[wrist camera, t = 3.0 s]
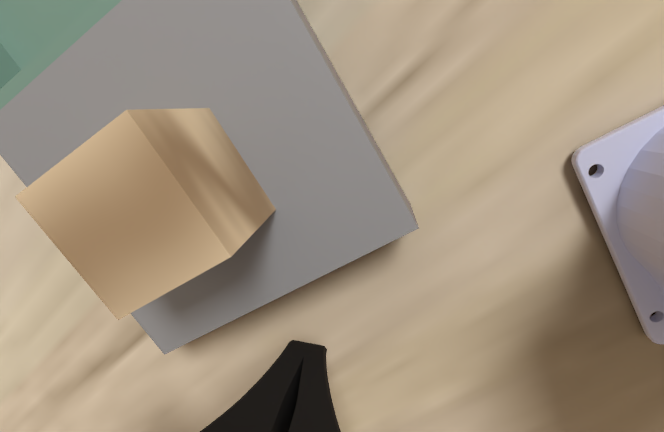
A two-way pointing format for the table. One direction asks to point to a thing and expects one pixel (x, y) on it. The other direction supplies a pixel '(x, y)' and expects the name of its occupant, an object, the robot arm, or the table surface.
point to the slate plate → (242, 129)
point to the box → (40, 36)
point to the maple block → (148, 204)
